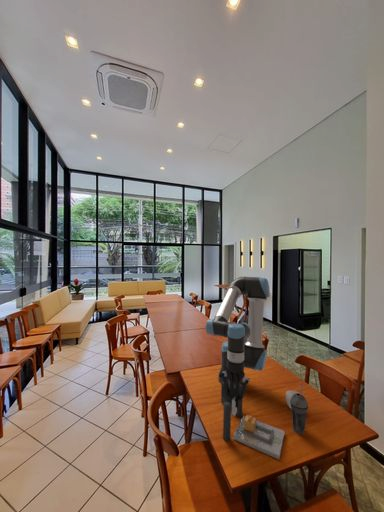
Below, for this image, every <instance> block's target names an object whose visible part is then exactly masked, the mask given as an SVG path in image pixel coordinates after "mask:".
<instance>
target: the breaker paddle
mask: <svg viewBox="0 0 384 512" xmlns="http://www.w3.org/2000/svg"><path fill="white" fill-rule="evenodd" d="M245 416H246V418H245V420H244V430H247V431H249V432H252V433H254V431H255V428H256V420H257V419H256V417H254V416H253V415H251V414H246V415H245Z"/></svg>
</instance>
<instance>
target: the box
mask: <svg viewBox="0 0 384 512" xmlns="http://www.w3.org/2000/svg"><path fill="white" fill-rule="evenodd" d="M228 383H229V388H230V380H228ZM220 384H221V385H220V387H221V390H220V392H221V394H220V395H221V398H220V401H221V404H223V405H224V403H225V402H229V403H230V397H229V396H226V392H225V387H224V381H223V382H222V383H220ZM235 389H236V385H235V384H234V394H235ZM234 397H235V395H234ZM231 411H232V406H231Z"/></svg>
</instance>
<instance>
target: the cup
mask: <svg viewBox="0 0 384 512" xmlns="http://www.w3.org/2000/svg"><path fill="white" fill-rule="evenodd" d="M295 393H299V394H300V392H298V391H296V390H287V391H286V392H285V401H286V404H287V406H288V407H289V409H290V410H291V404H290V399H291V397H292V395H293V394H295Z"/></svg>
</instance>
